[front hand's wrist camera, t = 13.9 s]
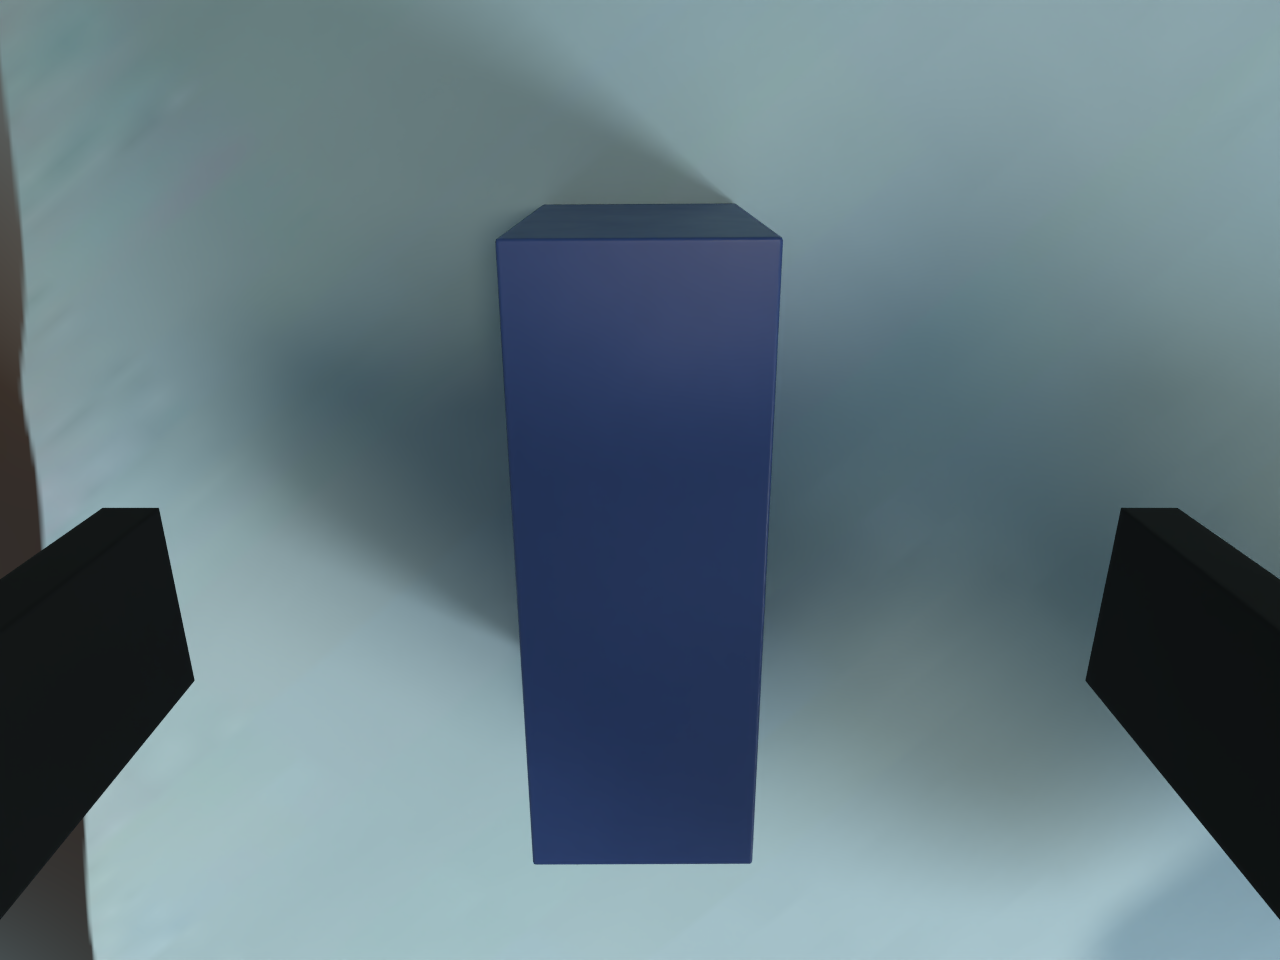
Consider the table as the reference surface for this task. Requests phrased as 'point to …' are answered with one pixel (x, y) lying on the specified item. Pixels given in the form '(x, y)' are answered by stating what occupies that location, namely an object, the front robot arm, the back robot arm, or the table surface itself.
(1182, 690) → the front robot arm
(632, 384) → the box
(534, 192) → the table surface
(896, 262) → the table surface
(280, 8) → the table surface
